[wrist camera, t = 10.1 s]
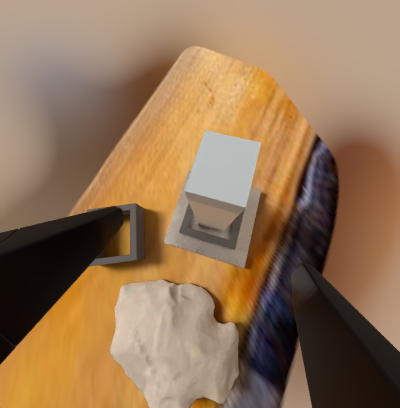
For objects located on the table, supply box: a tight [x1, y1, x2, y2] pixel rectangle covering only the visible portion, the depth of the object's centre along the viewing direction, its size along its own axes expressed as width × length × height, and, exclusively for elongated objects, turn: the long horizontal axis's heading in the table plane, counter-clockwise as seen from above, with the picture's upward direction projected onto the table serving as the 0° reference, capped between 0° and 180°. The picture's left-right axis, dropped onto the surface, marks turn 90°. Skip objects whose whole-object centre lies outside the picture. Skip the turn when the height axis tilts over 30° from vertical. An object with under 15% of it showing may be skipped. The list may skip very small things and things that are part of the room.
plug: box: [184, 130, 261, 233], centre depth 14 cm, size 4×3×12 cm
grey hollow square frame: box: [87, 203, 145, 266], centre depth 20 cm, size 7×6×2 cm
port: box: [164, 171, 261, 268], centre depth 19 cm, size 10×10×4 cm
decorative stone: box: [110, 279, 239, 408], centre depth 16 cm, size 11×4×15 cm
